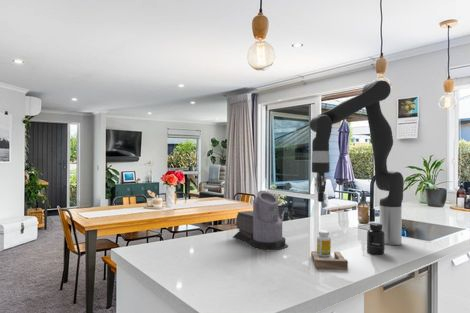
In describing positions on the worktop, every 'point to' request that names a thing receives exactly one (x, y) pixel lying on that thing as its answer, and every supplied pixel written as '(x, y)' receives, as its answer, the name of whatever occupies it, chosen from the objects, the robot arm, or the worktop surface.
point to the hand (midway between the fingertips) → (320, 201)
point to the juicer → (261, 224)
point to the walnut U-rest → (329, 261)
